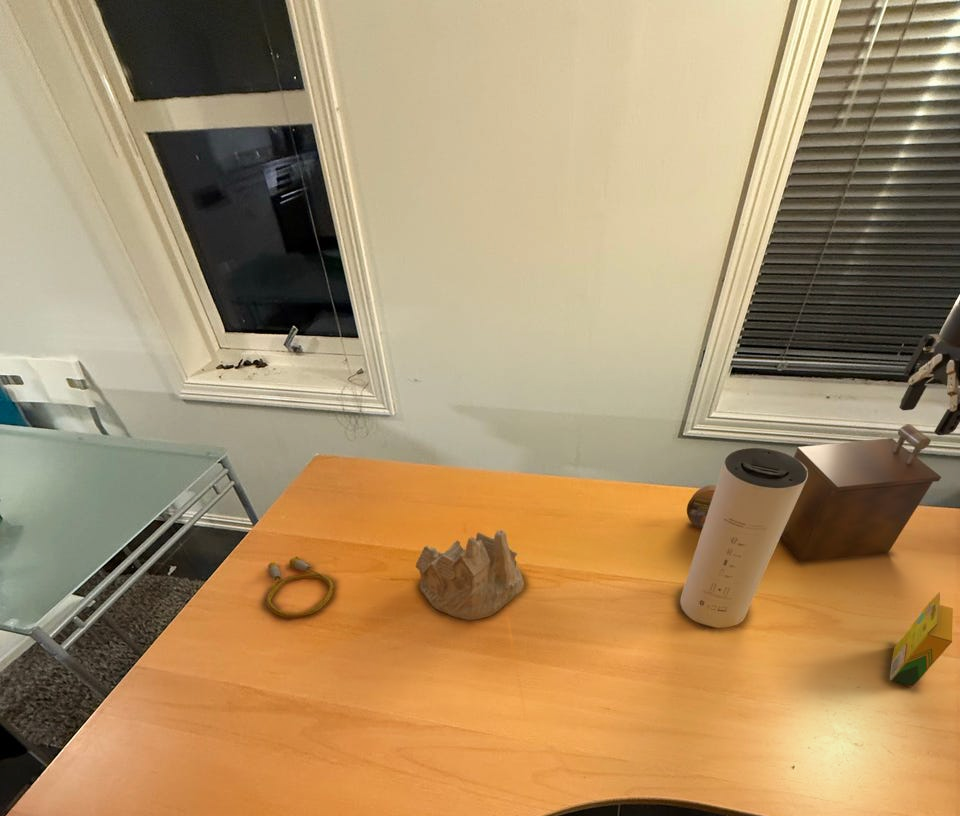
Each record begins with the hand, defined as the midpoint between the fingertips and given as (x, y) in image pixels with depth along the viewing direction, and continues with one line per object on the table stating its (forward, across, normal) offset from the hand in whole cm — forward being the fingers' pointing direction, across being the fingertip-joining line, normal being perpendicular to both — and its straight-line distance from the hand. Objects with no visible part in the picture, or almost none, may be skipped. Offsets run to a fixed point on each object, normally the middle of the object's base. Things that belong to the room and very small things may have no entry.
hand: (923, 421), depth 85 cm
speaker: (+22, -15, +33) cm, 43 cm away
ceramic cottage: (+22, -4, +72) cm, 76 cm away
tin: (+22, +5, +23) cm, 32 cm away
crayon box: (+22, -31, +11) cm, 40 cm away
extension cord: (+22, 0, +103) cm, 106 cm away
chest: (+22, 0, +6) cm, 22 cm away
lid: (+7, 0, +6) cm, 9 cm away
